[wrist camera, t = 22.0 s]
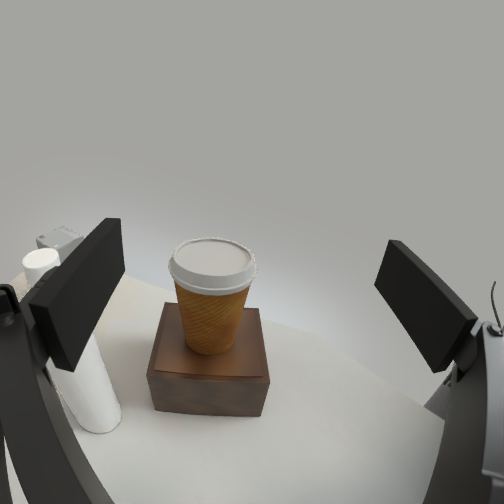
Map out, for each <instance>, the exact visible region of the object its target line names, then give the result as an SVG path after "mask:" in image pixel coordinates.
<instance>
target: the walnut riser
mask: <svg viewBox="0 0 504 504" xmlns="http://www.w3.org/2000/svg"><path fill="white" fill-rule="evenodd" d="M146 376H147V380H148V384H149V388H150V392H151V396H152V400H153V404H154V408H155V410H157V411H165V412H174V413H185V414H197V415H214V416H261V412H262V409H263V406H264V402H265V399H266V395H267V392H268V388H269V384H270V378H269V372H268V366H267V359H266V353H265V346H264V340H263V334H262V327H261V321H260V314H259V309H258V308H243V312H242V315H241V319H240V322H239V325H238V329H237V332H236V336H235V339H234V343H233V345H232V347H231V348H230V349H229V350H227V351H226V352H224V353H221V354H216V355H205V354H201V353H198V352H196V351H194V350H193V349H191V348H190V347H189V346H188V344H187V343H186V340H185V335H184V330H183V325H182V320H181V315H180V310H179V305H178V303H168V302H165V304H164V308H163V311H162V315H161V318H160V322H159V326H158V330H157V333H156V337H155V341H154V345H153V349H152V353H151V357H150V361H149V365H148V370H147V374H146Z"/></svg>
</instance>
